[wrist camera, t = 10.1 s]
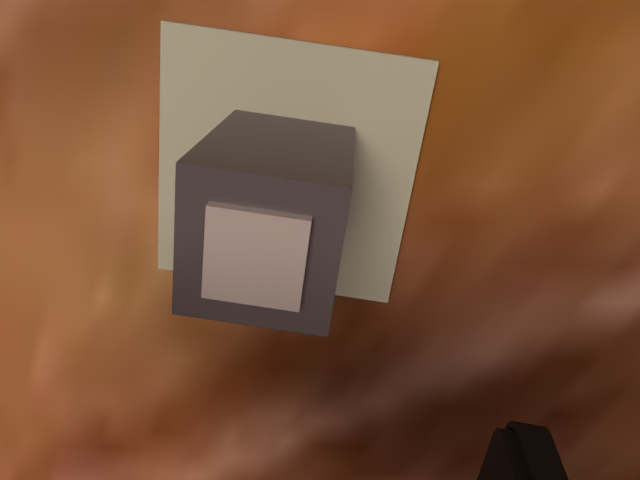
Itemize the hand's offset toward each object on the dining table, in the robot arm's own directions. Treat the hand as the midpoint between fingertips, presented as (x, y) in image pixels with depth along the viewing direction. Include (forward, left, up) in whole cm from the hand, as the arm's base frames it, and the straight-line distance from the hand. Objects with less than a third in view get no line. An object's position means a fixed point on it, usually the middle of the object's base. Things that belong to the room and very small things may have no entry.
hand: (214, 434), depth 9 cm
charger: (+1, 0, -16) cm, 15 cm away
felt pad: (+1, 0, -16) cm, 16 cm away
